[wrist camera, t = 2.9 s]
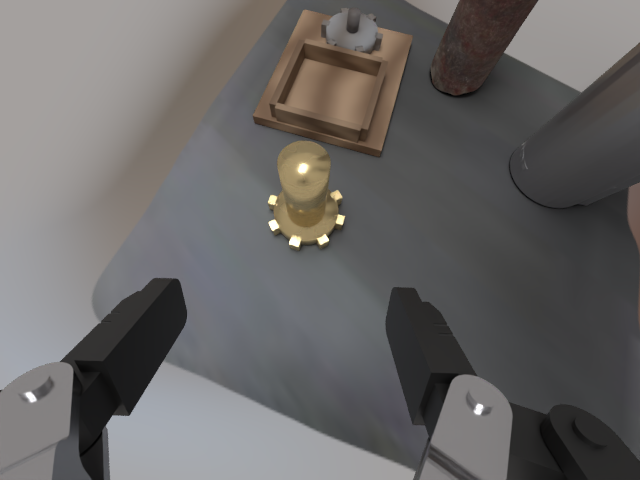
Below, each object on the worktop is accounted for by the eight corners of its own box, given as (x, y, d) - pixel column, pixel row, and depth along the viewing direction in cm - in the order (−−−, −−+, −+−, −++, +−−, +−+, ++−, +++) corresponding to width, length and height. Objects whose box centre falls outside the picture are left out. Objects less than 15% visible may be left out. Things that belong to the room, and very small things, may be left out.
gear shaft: (351, 194, 30) (369, 134, 21) (331, 260, 28) (342, 227, 18) (283, 175, 31) (271, 107, 21) (258, 238, 28) (231, 194, 19)
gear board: (409, 44, 38) (423, 6, 34) (378, 157, 32) (390, 129, 27) (304, 18, 39) (303, -22, 35) (254, 122, 33) (245, 90, 28)
